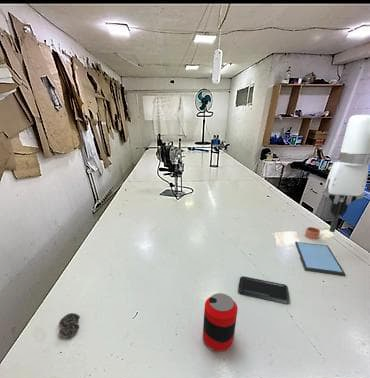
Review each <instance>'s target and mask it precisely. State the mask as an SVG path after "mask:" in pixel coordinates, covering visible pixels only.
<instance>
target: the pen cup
mask: <svg viewBox="0 0 370 378" xmlns="http://www.w3.org/2000/svg"><path fill="white" fill-rule="evenodd" d="M320 234H321V230H320V229H319V228H317V227H312V226H308V227H306V229H305V233H304V237H305V238H307V239H310V240H314V241H315V240H318V239H319V238H320Z"/></svg>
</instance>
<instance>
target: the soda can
mask: <svg viewBox="0 0 370 378" xmlns="http://www.w3.org/2000/svg"><path fill="white" fill-rule="evenodd" d="M238 310H239V309H238V305H237V303H236V301H234V299H233V298H232V297H231V296H230V295H228V294H226V293H221V292H218V293H213V294H212V295H210V297H208V298H207V299H206V300H205V302H204V311H203V327H202V328H203V329H202V340H203V342H204V344H205V345H206V346H207V347H208V349H211V350H213V351H216V352H224V351H227V350H228V349H230V348H231V347H232V346H233V344H234V338H235V330H236V325H237V316H238Z"/></svg>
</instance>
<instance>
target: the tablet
mask: <svg viewBox="0 0 370 378" xmlns="http://www.w3.org/2000/svg"><path fill="white" fill-rule="evenodd" d="M294 244H295V247H296V249H297V252H298V255H299V260H300V262H301V265H302V267H303V270H304V271H305V272H311V273H319V274H326V275H333V276H341V277H345V275H346V272H345V271H344V269H343V268H342V265H341V264H340V263H339V261H338V260H337V258H336V256H335V255H334V253H333V251H332V250H331V248H330V246H329V245H325V244H318V243H317V244H316V243H309V242H300V241H295V242H294Z"/></svg>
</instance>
